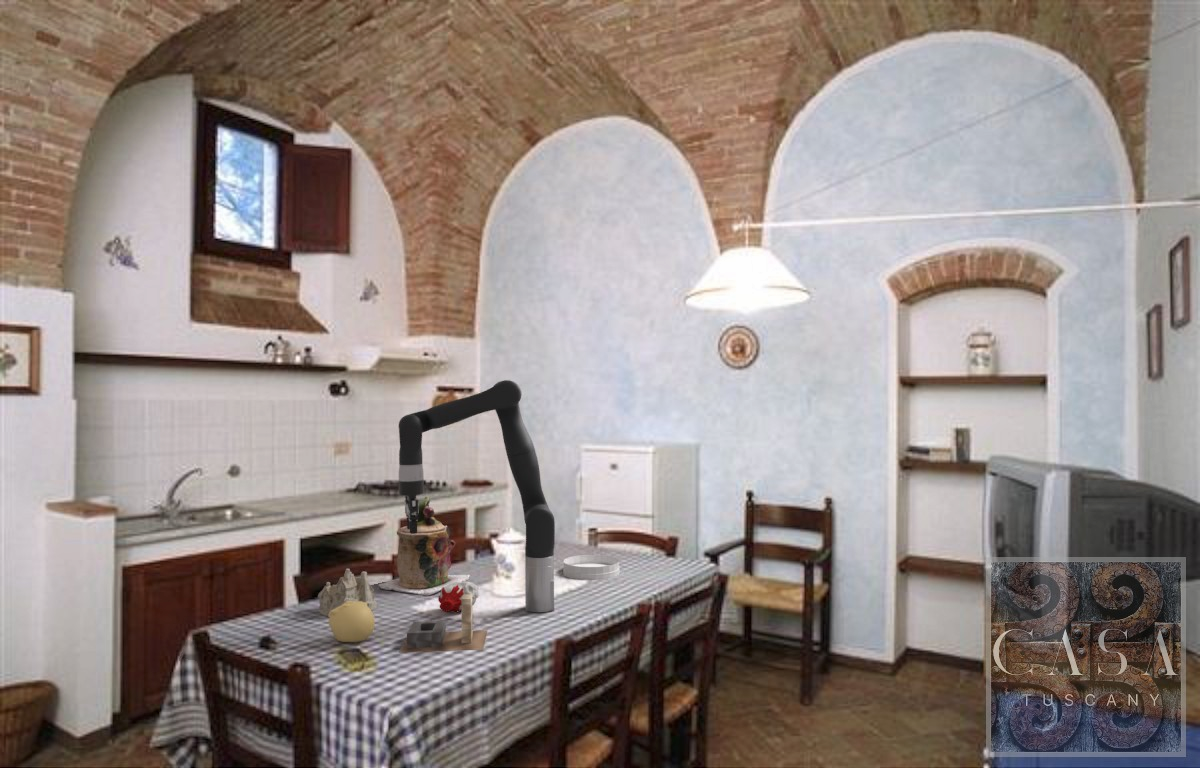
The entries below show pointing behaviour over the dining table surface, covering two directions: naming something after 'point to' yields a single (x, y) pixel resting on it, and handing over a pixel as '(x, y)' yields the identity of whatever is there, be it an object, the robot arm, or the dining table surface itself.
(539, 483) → the robot arm
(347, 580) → the ceramic cottage
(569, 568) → the dish
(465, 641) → the beige rectangular bar
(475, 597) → the red-white knobbly ovoid
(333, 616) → the cream sphere
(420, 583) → the cookie jar
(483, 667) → the dining table surface
